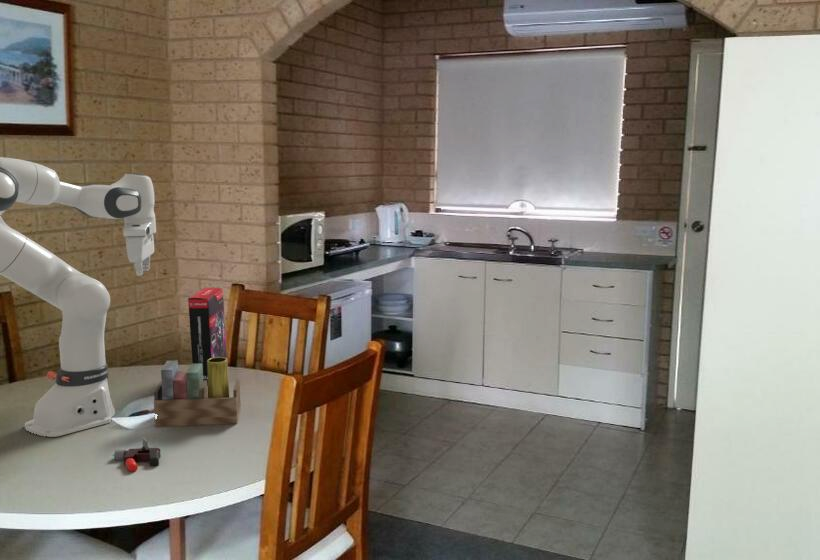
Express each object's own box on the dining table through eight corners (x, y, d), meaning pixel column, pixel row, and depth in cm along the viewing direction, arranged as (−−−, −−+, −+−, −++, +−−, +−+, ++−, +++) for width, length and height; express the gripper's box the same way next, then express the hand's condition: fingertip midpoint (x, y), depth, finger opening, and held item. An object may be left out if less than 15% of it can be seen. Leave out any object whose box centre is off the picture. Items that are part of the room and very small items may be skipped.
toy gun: (113, 457, 180) (111, 438, 179) (165, 455, 181) (164, 436, 180) (100, 475, 170) (99, 455, 169) (155, 473, 171) (154, 453, 170)
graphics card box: (213, 384, 233) (210, 297, 228) (191, 384, 233) (187, 297, 228) (227, 368, 250) (224, 287, 245) (206, 367, 250) (203, 286, 245)
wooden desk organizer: (240, 409, 211) (239, 357, 209) (237, 423, 201) (235, 369, 198) (163, 412, 209) (160, 359, 206) (155, 426, 198) (152, 371, 195)
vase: (228, 405, 208) (226, 355, 206) (232, 412, 203) (230, 361, 200) (206, 408, 206) (203, 357, 204) (209, 415, 201) (207, 363, 198)
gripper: (137, 224, 238) (139, 267, 240) (121, 231, 218) (124, 278, 220) (158, 223, 238) (160, 267, 241) (144, 231, 218) (146, 278, 221)
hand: (143, 272), depth 230 cm, fingers open, 8 cm apart
